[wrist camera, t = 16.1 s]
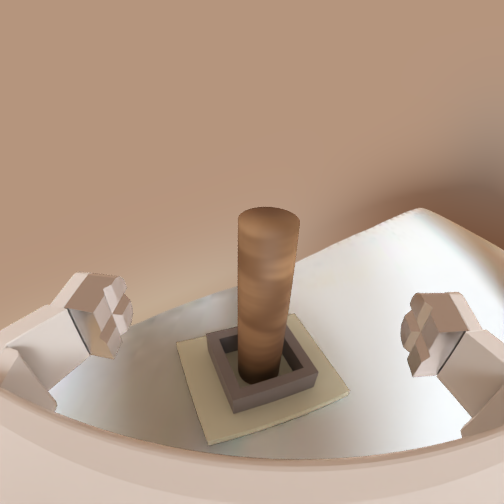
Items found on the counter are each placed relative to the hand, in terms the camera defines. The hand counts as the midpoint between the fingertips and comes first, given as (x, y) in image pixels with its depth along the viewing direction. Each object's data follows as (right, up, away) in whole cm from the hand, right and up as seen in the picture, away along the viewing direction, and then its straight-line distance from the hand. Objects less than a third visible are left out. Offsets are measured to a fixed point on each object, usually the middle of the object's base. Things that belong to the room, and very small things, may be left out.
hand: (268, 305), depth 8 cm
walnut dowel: (0, -10, +20) cm, 23 cm away
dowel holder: (0, -11, +21) cm, 24 cm away
